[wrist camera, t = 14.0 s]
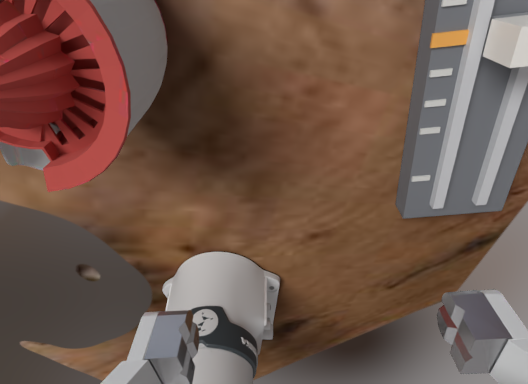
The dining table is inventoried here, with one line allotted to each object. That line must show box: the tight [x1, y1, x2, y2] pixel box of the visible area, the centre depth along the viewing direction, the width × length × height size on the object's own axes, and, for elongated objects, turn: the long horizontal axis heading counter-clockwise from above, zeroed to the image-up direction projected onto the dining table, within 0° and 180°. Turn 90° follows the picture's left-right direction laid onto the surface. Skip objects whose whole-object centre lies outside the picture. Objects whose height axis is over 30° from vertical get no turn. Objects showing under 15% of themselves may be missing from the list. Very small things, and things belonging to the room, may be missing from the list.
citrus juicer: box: [0, 0, 168, 192], centre depth 25 cm, size 16×17×20 cm
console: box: [396, 0, 528, 219], centre depth 34 cm, size 30×12×4 cm, turn 6°
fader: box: [482, 12, 528, 68], centre depth 28 cm, size 3×4×5 cm
